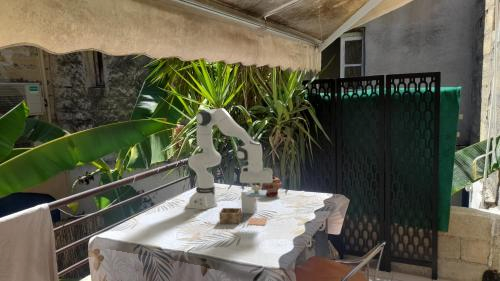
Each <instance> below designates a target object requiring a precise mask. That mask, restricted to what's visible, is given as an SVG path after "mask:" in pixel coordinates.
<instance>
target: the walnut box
mask: <svg viewBox="0 0 500 281" xmlns="http://www.w3.org/2000/svg"><path fill="white" fill-rule="evenodd" d="M218 214H219V224H220V225H240V223H241V220H242V219H243V217H242V215H243V213H242V207H241V208H240V207H237V208H236V207H223V208H222V209H221V210H220V211H219V213H218Z"/></svg>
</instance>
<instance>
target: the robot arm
mask: <svg viewBox="0 0 500 281" xmlns="http://www.w3.org/2000/svg"><path fill="white" fill-rule="evenodd" d="M195 119H196V120H195V121H196V122H197V123H196V124H197V125H196V145H197V147H199V148H201V149H202V150H203V152H200V153H195V154H192V155H190V156H188V157H189V158H188V160H187V161H188V162H187V163H188V166H189V168H190V169H191V170H193V171H194V172H195V173H196V175H197V179H198V185H197V186H196V187H195V193H193V194H192V195H191V196H190V198H189V201H188V202H187V203H186V206H185V207H186V209H197V210H207V209H211V208H214V207H216V206H218V202H217V198H216V188H215V186H216V185H215V179H214V175H213V173H212V172H208V168H212V167H216V166H219V165H220V164H221V162H222V155H221V154H220V152H219V151H217V150H216V149H215V146H214V142H213V126H217V128H218V129H219V131H220V132H221V134H223V135H225V136H227V137H234V138H235V137H236V138H237V139H239V140H240V141H242V143H244V145H242V146H240V147H238V148H237V149H236V152H235V153H236V154H235V155H236V159H238V160H239V161H240V162H247V163H248V164H247V165H244V166H242V167H241V169H240V171H241V172H240V174H239V183H241V184H249V186H250V187H251V189H252V190H254V185H253V184H257V183H259V185H260V186H259V187H258V188H259V189H258V190H261V188H262V184H263V183H271V182H272V181H273V179H272V177H273V173H274V172H273V169H272V168H271V167H264V162H263V153H264V152H263V146H262V144H261V143H260V142H259V141H257V140H256V141H255V140H254V138H252V137H251V135H250V134H249V133H248V132H247V131H246V130H245V128H243V127H242V126H240V124H238V123H237V122H236V121H235V120H234V118H233V117H232V116H231V114H229V112H228V111H227V110H226V109H225V108H223V107H221V108H210V109H204V110H203V109H202V110H200V111H198V112H197V113H196V117H195Z"/></svg>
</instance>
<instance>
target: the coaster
mask: <svg viewBox="0 0 500 281" xmlns="http://www.w3.org/2000/svg"><path fill="white" fill-rule="evenodd" d="M267 220H268V218H267V217H263V218H262V217H261V218H260V217H258V218H257V217H249V220H248V222H247V226H266V225H267Z"/></svg>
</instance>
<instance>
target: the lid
mask: <svg viewBox="0 0 500 281" xmlns="http://www.w3.org/2000/svg"><path fill="white" fill-rule="evenodd" d="M253 187H254V190H248V192H247V193H246V196H248V197H256V198H264V197H267V196H266V193H267V190H258V189H259V188H258V187H260V186H259V185H258V186H257V185H253Z"/></svg>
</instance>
